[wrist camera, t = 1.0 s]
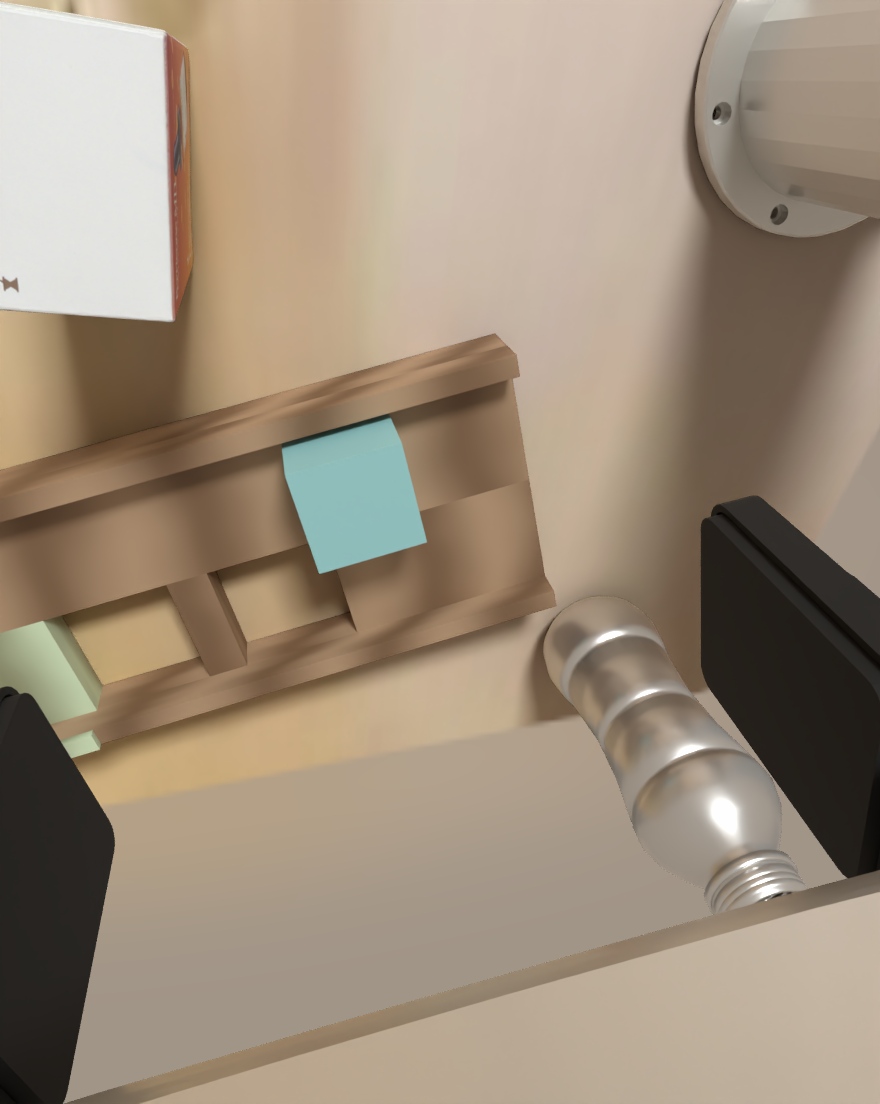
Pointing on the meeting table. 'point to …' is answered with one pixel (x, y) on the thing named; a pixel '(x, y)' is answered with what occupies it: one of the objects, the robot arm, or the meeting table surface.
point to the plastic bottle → (670, 757)
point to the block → (353, 493)
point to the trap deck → (265, 541)
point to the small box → (93, 166)
